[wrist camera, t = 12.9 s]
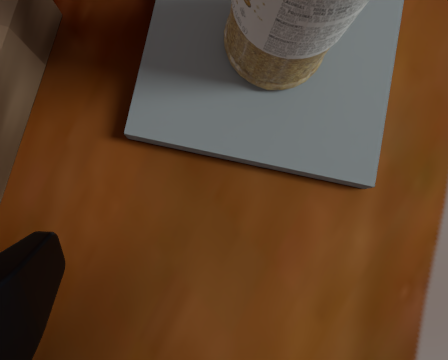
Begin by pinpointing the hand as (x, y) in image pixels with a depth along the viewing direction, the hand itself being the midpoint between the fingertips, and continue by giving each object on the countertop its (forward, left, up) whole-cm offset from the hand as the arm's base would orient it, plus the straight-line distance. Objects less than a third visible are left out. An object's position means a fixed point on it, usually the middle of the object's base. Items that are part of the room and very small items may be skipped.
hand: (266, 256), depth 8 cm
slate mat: (+8, +3, -9) cm, 13 cm away
